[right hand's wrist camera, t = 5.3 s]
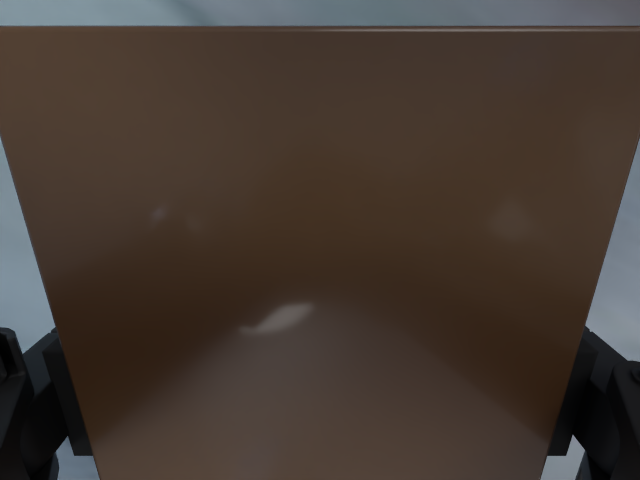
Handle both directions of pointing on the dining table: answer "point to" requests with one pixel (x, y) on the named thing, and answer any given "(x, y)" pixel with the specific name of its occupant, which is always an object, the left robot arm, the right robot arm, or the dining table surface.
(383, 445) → the wide beam
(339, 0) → the dining table surface
